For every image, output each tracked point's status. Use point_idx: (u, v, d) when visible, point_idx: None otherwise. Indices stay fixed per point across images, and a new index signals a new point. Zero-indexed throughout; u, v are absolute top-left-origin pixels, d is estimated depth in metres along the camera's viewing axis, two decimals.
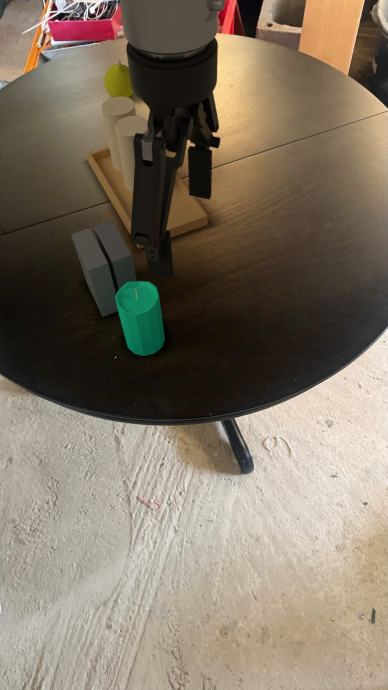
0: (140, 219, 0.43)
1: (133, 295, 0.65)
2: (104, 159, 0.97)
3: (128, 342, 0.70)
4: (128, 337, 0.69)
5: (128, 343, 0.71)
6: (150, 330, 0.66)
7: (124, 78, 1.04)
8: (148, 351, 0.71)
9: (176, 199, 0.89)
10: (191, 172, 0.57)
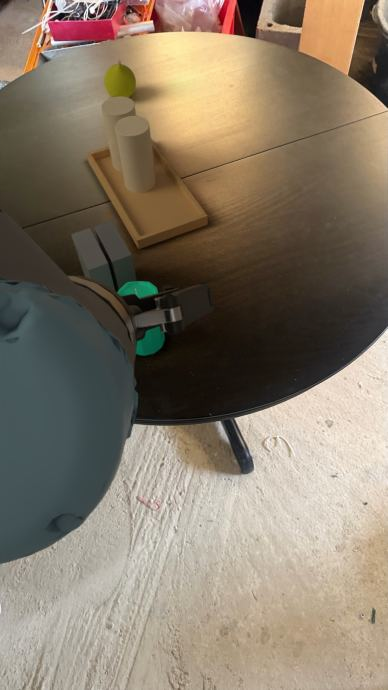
0: None
1: None
2: (104, 159, 0.97)
3: None
4: None
5: None
6: (150, 330, 0.66)
7: (124, 78, 1.04)
8: (148, 351, 0.71)
9: (176, 199, 0.89)
10: None
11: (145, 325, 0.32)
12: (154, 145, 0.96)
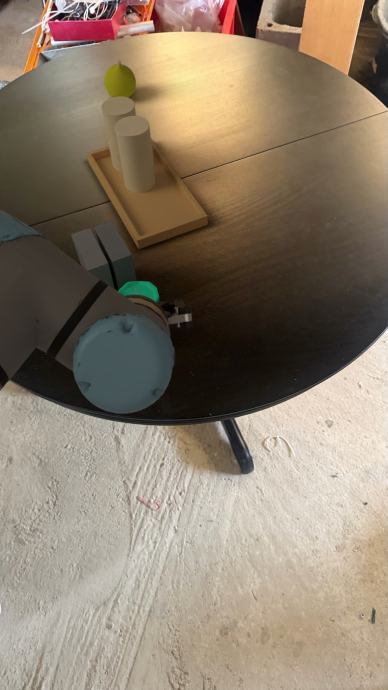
0: None
1: None
2: (104, 159, 0.97)
3: None
4: None
5: None
6: None
7: (124, 78, 1.04)
8: None
9: (176, 199, 0.89)
10: None
11: (174, 323, 0.55)
12: (154, 145, 0.96)
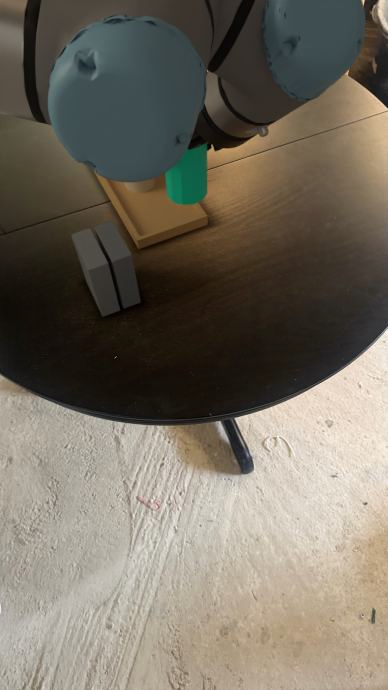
0: None
1: None
2: None
3: (175, 191, 0.66)
4: (177, 182, 0.64)
5: (175, 193, 0.66)
6: (202, 163, 0.63)
7: None
8: (197, 197, 0.67)
9: None
10: None
11: None
12: None
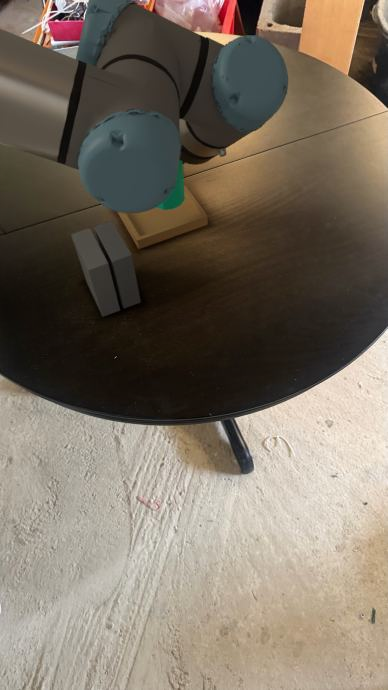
0: None
1: None
2: None
3: None
4: None
5: None
6: (179, 174, 0.74)
7: None
8: (176, 203, 0.78)
9: None
10: None
11: None
12: None
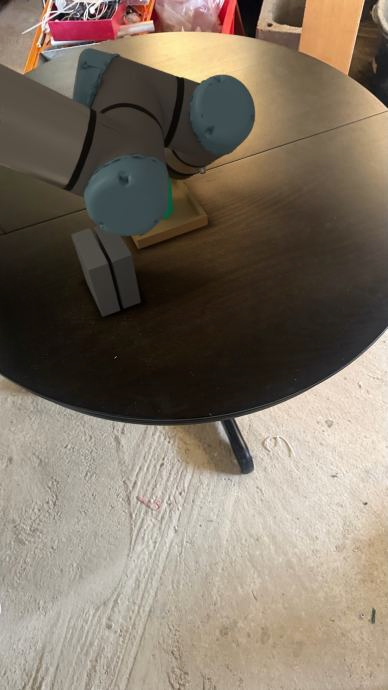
0: None
1: None
2: None
3: None
4: None
5: None
6: None
7: None
8: (165, 214, 0.86)
9: (176, 199, 0.89)
10: None
11: None
12: None
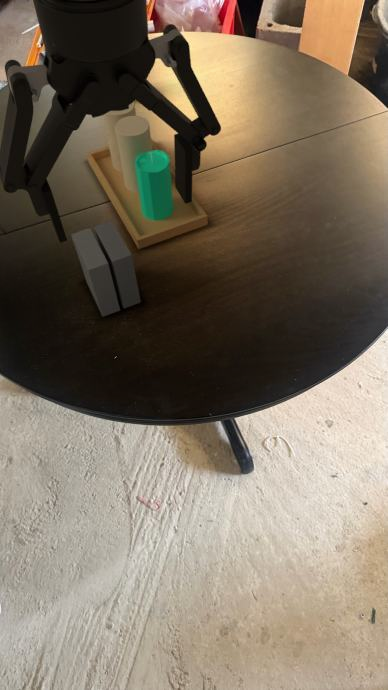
0: (2, 154, 0.39)
1: (148, 161, 0.80)
2: (104, 159, 0.97)
3: (148, 210, 0.85)
4: (149, 204, 0.84)
5: (148, 212, 0.85)
6: (167, 189, 0.82)
7: None
8: (165, 214, 0.86)
9: (176, 199, 0.89)
10: (176, 162, 0.48)
11: (154, 44, 0.36)
12: (154, 145, 0.96)
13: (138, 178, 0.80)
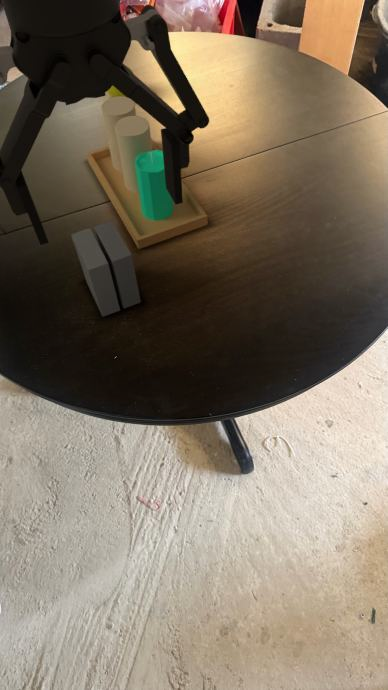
0: None
1: (148, 161, 0.80)
2: (104, 159, 0.97)
3: (148, 210, 0.85)
4: (149, 204, 0.84)
5: (148, 212, 0.85)
6: None
7: None
8: (165, 214, 0.86)
9: None
10: (164, 160, 0.45)
11: (129, 24, 0.34)
12: (154, 145, 0.96)
13: (138, 178, 0.80)
